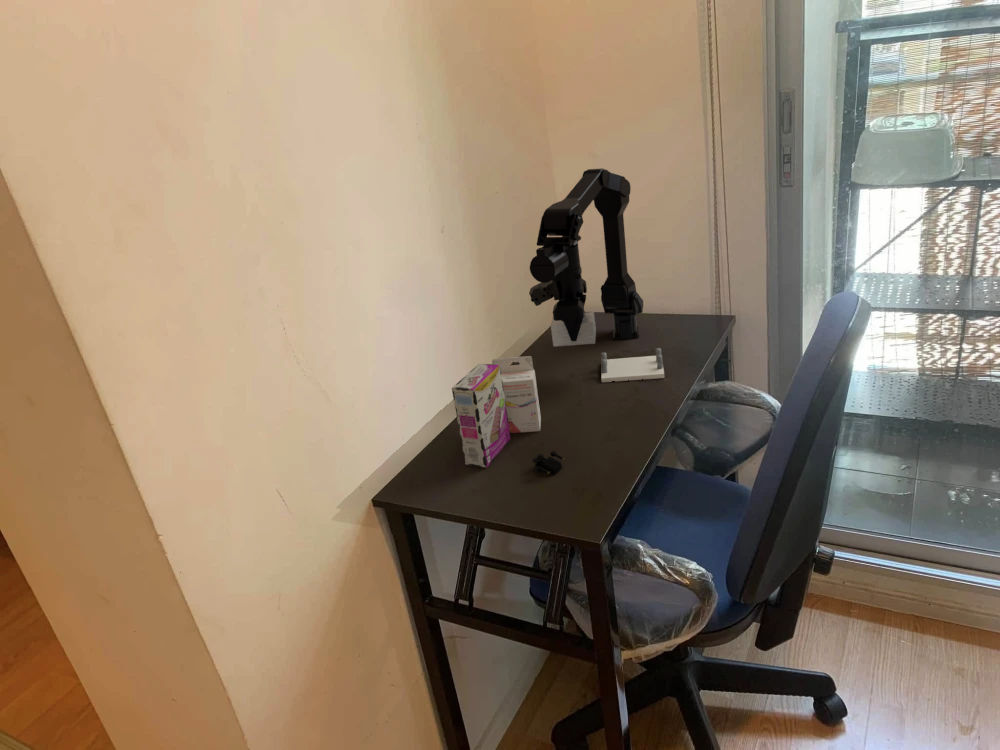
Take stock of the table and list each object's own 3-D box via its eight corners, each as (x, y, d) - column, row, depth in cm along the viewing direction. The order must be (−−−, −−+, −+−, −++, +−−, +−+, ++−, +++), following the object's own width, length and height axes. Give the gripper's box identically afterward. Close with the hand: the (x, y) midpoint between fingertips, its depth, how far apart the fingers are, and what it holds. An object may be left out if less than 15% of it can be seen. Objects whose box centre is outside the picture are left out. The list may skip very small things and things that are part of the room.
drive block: (556, 335, 157) (553, 315, 155) (596, 332, 155) (594, 311, 153) (553, 346, 152) (550, 325, 149) (594, 343, 150) (592, 322, 147)
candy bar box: (488, 469, 128) (473, 390, 122) (464, 466, 131) (449, 388, 124) (513, 438, 137) (500, 363, 131) (490, 436, 140) (477, 362, 133)
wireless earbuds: (549, 477, 121) (525, 463, 123) (546, 487, 123) (523, 473, 125) (569, 457, 126) (546, 444, 128) (567, 467, 127) (544, 454, 130)
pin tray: (602, 363, 163) (600, 348, 161) (661, 359, 160) (660, 343, 159) (601, 382, 154) (600, 366, 152) (664, 377, 151) (663, 361, 150)
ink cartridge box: (498, 435, 140) (487, 369, 134) (500, 423, 144) (490, 358, 138) (540, 431, 138) (531, 364, 132) (542, 419, 143) (532, 354, 137)
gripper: (533, 258, 156) (542, 322, 163) (523, 285, 140) (534, 355, 146) (583, 253, 154) (590, 318, 160) (579, 279, 137) (587, 351, 144)
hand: (574, 335), depth 153 cm, fingers closed on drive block, 6 cm apart
